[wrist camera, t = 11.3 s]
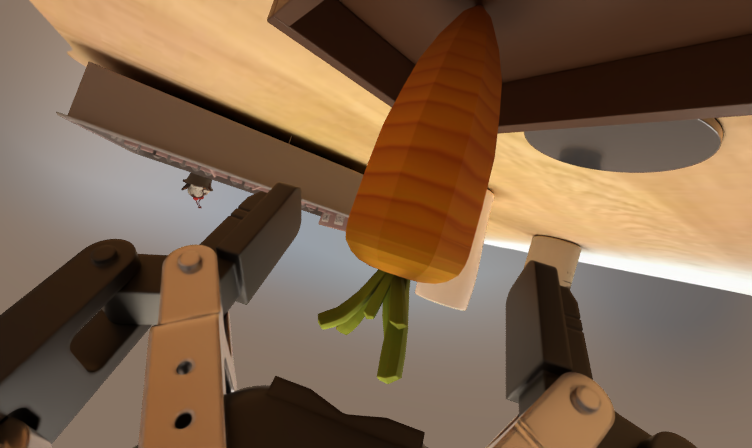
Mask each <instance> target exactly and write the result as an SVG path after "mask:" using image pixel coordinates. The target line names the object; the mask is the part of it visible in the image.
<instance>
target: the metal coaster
mask: <svg viewBox="0 0 752 448" xmlns="http://www.w3.org/2000/svg"><path fill="white" fill-rule="evenodd" d="M524 135H525V138H526V140H527V141H528V142H529V143H530V145H531V146H533V147H534V148H535V149H536V150H538V151H540V152H541V153H543V154H545V155H547V156H549V157H551V158H554V159H556V160H559V161H562V162H565V163H568V164H572V165H576V166H580V167H585V168H590V169H596V170H603V171H612V172H628V173H645V172H660V171H669V170H675V169H680V168H685V167H689V166H692V165H695V164H698V163H701V162H703V161H705V160H707V159H709V158H710V157H711V156H713V155H714V154H715V153H716V152H717V151H718V150H719V148H720V145H721V142H722V138H723V130H722V128H721V126H720V124H719V123H718V122H717V121H716V119H715V118H705V119H691V120H677V121H663V122H649V123H635V124H621V125H608V126H594V127H580V128H566V129H552V130H538V131H524Z"/></svg>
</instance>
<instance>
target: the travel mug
mask: <svg viewBox="0 0 752 448" xmlns="http://www.w3.org/2000/svg"><path fill="white" fill-rule="evenodd" d="M580 252H581V248H580V247H579V246H578V245H576V244H574V243H571V242H568V241H565V240H562V239H558V238H554V237H548V236H535V237H533V239H532V242H531V245H530V249H529V252H528V256H527V259H526V262H525V266H526V265H527V263H528V262H529V261H530V260H534V261H538V262H541V263H544V264H547V265H551V266H554V267H556V268H557V271H558V277H559V283H560V285H561V286H564V287H567V288H569V290H570V288H571V284H572V280H573V277H574V273H575V270H576V266H577V263H578V259H579V256H580ZM525 266H524V268H525Z"/></svg>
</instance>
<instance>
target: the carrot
mask: <svg viewBox="0 0 752 448" xmlns="http://www.w3.org/2000/svg"><path fill="white" fill-rule="evenodd" d="M501 88H502V77H501V66H500V55H499V47H498V43H497V39H496V35H495V31H494V27H493V23H492V19H491V17H490V15H489V14H488V13H487V11H486V10H485V9H484V7H483V6H482V5H477V6H474V7H472V8H469V9H466V10H464V11H463V12H462V13H461V14H460V15H459V16H458V17H457V18H456V19H454V20H453V21H452V22H451V23H450V24H449V25H448V26H447V27H446V28H445V29H444V30H443V31H442V32H441V33H440V34H439V35H438V36H437V37H436V39H435V40H434V41H433V42H432V44H431V45H430V46H429V47H428V49H427V50H426V51H425V52H424V53H423V55H422V56H421V57H420V58H419V60H418V62H417V64H416V65H415V67H414V69H413V71H412V72H411V74H410V76H409V77H408V79H407V81H406V83H405V84H404V86H403V88H402V90H401V91H400V93H399V95H398V97H397V99H396V101H395V103H394V105H393V107H392V109H391V110H390V112H389V114H388V116H387V118H386V120H385V122H384V124H383V126H382V129H381V131H380V134H379V137H378V139H377V142H376V144H375V147H374V149H373V152H372V154H371V157H370V160H369V162H368V165H367V167H366V170H365V173H364V175H363V178H362V181H361V184H360V187H359V189H358V192H357V195H356V198H355V200H354V203H353V206H352V209H351V212H350V214H349V217H348V222H347V226H346V241H347V243H348V245H349V247H350V249H351V251H352V252H353V253H354V254H355V255H356V257H357V258H358V259H360V260H361V261H363V262H365V263H366V264H368V265H369V266H372V267H374V268H377V269H378V270H377V272H376V273H375V274H374V275H373V276H372V277H371V278H370V279H369V280H368V282H367V283H366V284H365V285H364V286H363V287H362V288H361V289H360V290H359V291H358V292H357V293H355V294H354V295H353V296H352V297H351V298H349V299H348V300H347V301H345V302H344V303H342V304H341V305H340V306H338V307H336V308H333V309H330V310H328V311H325V312H322V313H319V314H318V323H319V325H320V326H321V328H322V329H328V328H332V327H335V326H337V327H336V329H337V330H338V331H339V332H341V333H343V334H345V335H347V334H349V333H350V332H352V331H353V330H354V329H355V328H356V327H357V326H358V325H359V324H360V322H361V321H362V319H363V318H364V317H366V319H374V318H375V316H376V314H377V312H378V310H379V308H380V306H381V304H382V303H383V314H382V316H383V329H384V341H383V346H382V351H381V356H380V361H379V368H378V373H377V378H378V379H379V380H380V381H383V382H385V383H387V384H389V383H392V382H394V381H396V380H398V379H400V378H402V372H403V366H404V360H405V352H406V342H407V333H408V310H409V287H410V280H413V281H417V282H421V283H431V284H438V283H443V282H447V281H449V280H451V279H453V278H455V277H457V276H459V274H460V273H461V271H462V270H463V268H464V267H465V265H466V262H467V260H468V258H469V255H470V251H471V247H472V244H473V240H474V237H475V233H476V229H477V226H478V222H479V218H480V215H481V211H482V207H483V203H484V199H485V195H486V191H487V187H488V182H489V178H490V174H491V170H492V166H493V162H494V157H495V149H496V141H497V133H498V125H499V115H500V102H501Z"/></svg>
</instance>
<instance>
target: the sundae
mask: <svg viewBox="0 0 752 448" xmlns="http://www.w3.org/2000/svg"><path fill="white" fill-rule="evenodd" d="M183 182H185V183H186V185H185V186H184V187H183V188H182V190H184V189H187V188H188V193H189V194H190V195H191V196H192V197H193V199H194V200H198V199H200V200H201V199H203V198H204V197H203V196H204V195H207V194H208V193H209V192H210V191H213V189H212V188H211V182H212V179H209V178H206V177H203V176H200V175H197V174H194V173H190V175H189V176H188V178H187V179H185V180H183ZM200 200H199V201H200ZM196 202H197V201H196ZM197 205H198V204H197ZM199 206H200V205H199ZM198 208H201V206H200V207H198Z"/></svg>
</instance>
